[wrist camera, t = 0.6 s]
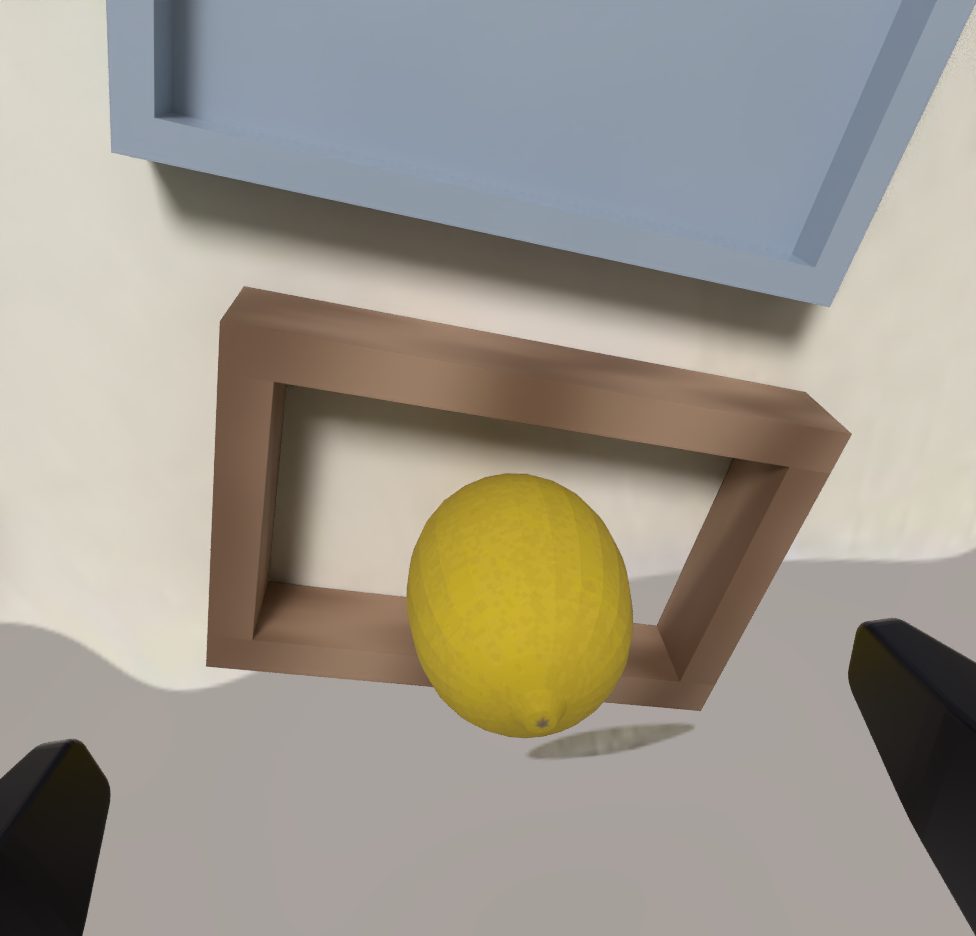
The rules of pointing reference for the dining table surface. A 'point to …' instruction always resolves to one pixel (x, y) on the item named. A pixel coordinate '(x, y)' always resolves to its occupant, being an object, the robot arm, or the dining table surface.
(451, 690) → the lemon
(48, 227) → the dining table surface
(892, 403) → the dining table surface
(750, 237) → the tray
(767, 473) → the holder
